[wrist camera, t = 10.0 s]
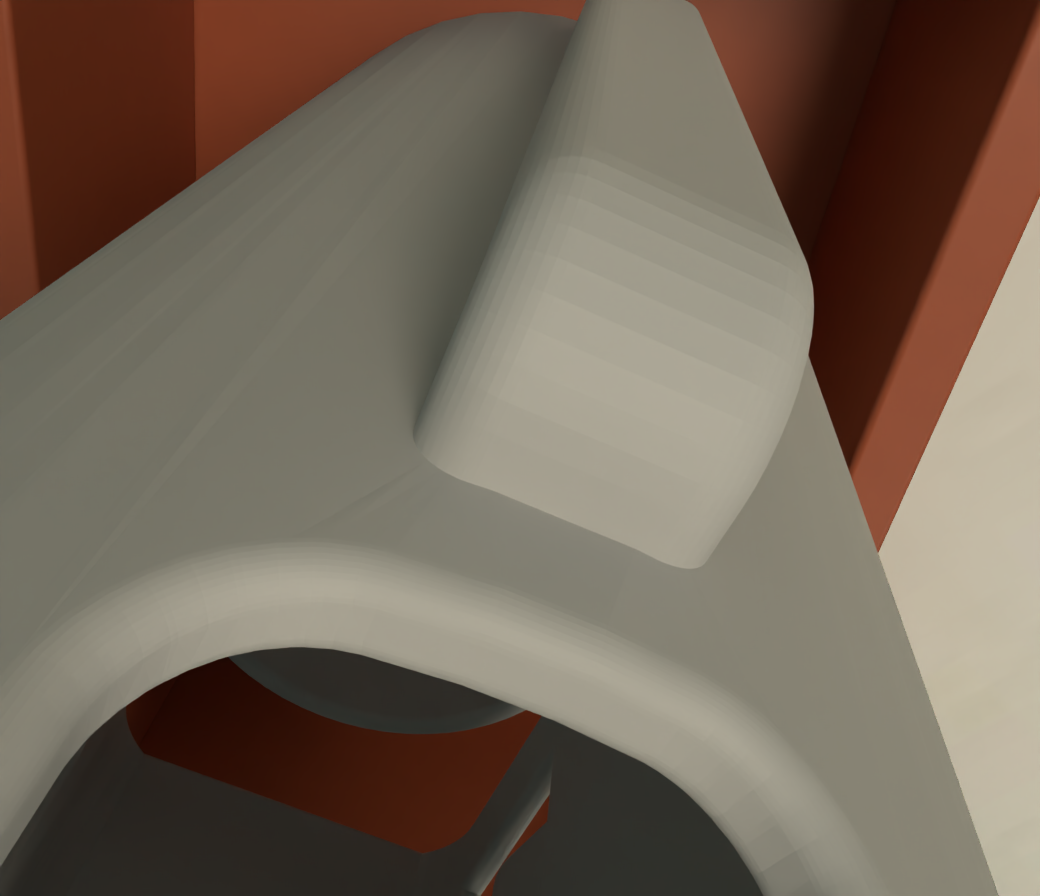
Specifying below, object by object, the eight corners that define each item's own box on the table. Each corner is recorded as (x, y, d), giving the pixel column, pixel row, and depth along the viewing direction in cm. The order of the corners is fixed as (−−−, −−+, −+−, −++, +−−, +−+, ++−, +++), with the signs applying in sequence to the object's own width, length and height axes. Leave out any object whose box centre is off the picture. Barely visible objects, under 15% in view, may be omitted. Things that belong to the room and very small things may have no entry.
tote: (147, -335, 13) (-131, -452, 8) (1004, -168, 13) (1218, -190, 8) (176, 640, 22) (52, 850, 17) (677, 737, 22) (690, 972, 17)
